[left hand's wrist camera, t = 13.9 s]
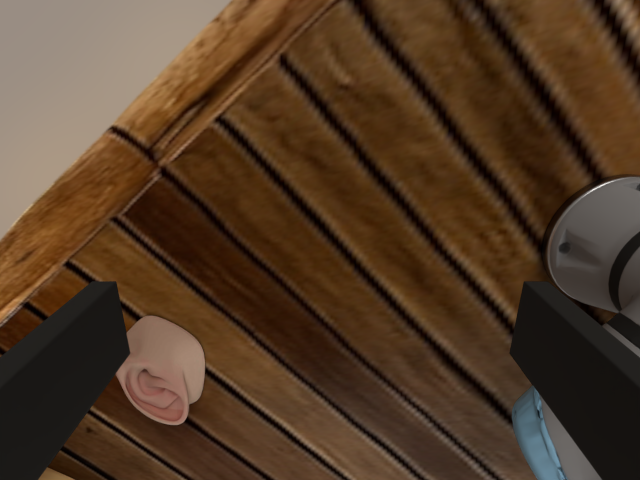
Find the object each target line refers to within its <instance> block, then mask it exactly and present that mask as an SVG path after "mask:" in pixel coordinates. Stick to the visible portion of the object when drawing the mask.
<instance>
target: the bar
mask: <svg viewBox="0 0 640 480" xmlns="http://www.w3.org/2000/svg"><path fill="white" fill-rule="evenodd" d="M38 480H75V479H73V478H70V477H68V476H66V475H64V474H61V473H59V472H57V471H55V470H52V469H50V468H48V467H47V468H46V470H45V471H44V472H43V474H42V475H41V476H40V478H39V479H38Z"/></svg>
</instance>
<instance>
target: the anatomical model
mask: <svg viewBox="0 0 640 480" xmlns="http://www.w3.org/2000/svg"><path fill="white" fill-rule="evenodd" d="M127 338H128V343H129V348H130V355H129V356H128V357H127V359H126V360H125V361H124V363H123V364H122V366H121V367H120V368H119V370H118V371H117V372H116V376H117V378H118V380H119V382H120V384H121V386H122V388H123V390H124V392H125V394H126V396H127V397H128V399H129V400H130V402H131V403H132V404H133V405H134V406H135V407H136V408H137V409H138V410H139V411H141V412H142V413H143V414H145V415H146V416H148V417H149V418H151V419H153V420H155V421H158V422H161V423H164V424H169V425H179V424H181V423H183V422H184V421H185V419H186V418H187V415H188V411H189V404H191V403H194V402H196V401H197V400H198V399H199V397H200V396H201V393H202V390H203V384H204V376H205V359H204V352H203V349H202V347H201V345H200V343H199V342H198V341H197V339H196V338H195V337H193V336H192V335H191V334H190V333H189V332H187V331H186V330H184V329H183V328H181V327H179V326H177V325H176V324H174V323H172V322H169V321H167V320H165V319H162V318H160V317H157V316H145V317H143V318H141V319H140V320H139V321H138V322H136V323H135V325H134V326H133V327H132V328H131V329H130V330H129V331H128V332H127Z"/></svg>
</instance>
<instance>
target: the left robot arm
mask: <svg viewBox="0 0 640 480" xmlns="http://www.w3.org/2000/svg"><path fill="white" fill-rule="evenodd" d="M542 256H543V263H544V267H545V270H546V272H547V274H548V276H549V277H550V279H551V280H552V281H553V283H554V284H555V285H556V286H557V287H559V288H560V289H561V290H562V291H564V292H565V293H566V294H567V295H569V296H570V297H572V298H574V299H576V300H578V301H580V302H583V303H585V304H588V305H592V306H595V307H598V308H602V309H605V310H609V311H612V312H615V313H618V314H616V315H615V316H614V317H613V318H612V319H611V320H609V321H608V322H607V323H605V324H604V325H603V326H601V325H600V324H599V323H597V322H596V321H595V320H594V319H593V318H591V317H590V316H589V315H588V314H586V313H585V312H584V311H583V310H582V309H580V308H579V307H578V306H577V305H576V304H574V303H573V302H572V301H571V300H569V299H568V298H567V297H566V296H565V295H563V294H562V293H561V292H560V291H559V290H557V289H556V288H555V287H554V286H552V285H551V284H550V283H549V282H524V284H523V289H522V294H521V299H520V304H519V309H518V314H517V319H516V323H515V328H514V333H513V338H512V343H511V348H510V355H511V356H512V357H513V359H514V360H515V361H516V363H517V364H518V366H519V367H520V368H521V370H522V371H523V372H524V374H525V375H526V377H527V378H528V379H529V381H530V382H531V383H532V386H531V387H530V388H529V389H528V390H527V391H526V392H525V393H524V394H523V395H522V396H521V397H520V398H519V399H518V400H517V401H516V402H515V404H514V406H513V410H512V421H513V429H514V433H515V436H516V439H517V441H518V444H519V446H520V448H521V451H522V453H523V455H524V457H525V459H526V461H527V463H528V464H529V466H530V468H531V470H532V471H533V473H534V475H535V476H536V478H537V480H640V176H639V175H616V176H611V177H607V178H604V179H601V180H598V181H596V182H593V183H591V184H589V185H587V186H585V187H584V188H582V189H581V190H579V191H578V192H576V193H575V194H574V195H572V196H571V197H570V198H569V199H568V200H567V201H566V202H565V203H564V204H563V205H562V206H561V207H560V209H559V210H558V211H557V212H556V214H555V215H554V217H553V218H552V220H551V222H550V224H549V226H548V228H547V231H546V233H545V237H544V241H543V248H542ZM129 355H130V348H129V343H128V338H127V333H126V328H125V323H124V319H123V314H122V309H121V304H120V299H119V294H118V289H117V284H116V282H91V283H90V284H89V285H88V286H86V287H85V288H84V289H83V290H81V291H80V292H79V293H78V294H77V295H75V296H74V297H73V298H72V299H71V300H69V301H68V302H67V303H66V304H64V305H63V306H62V307H61V308H60V309H58V310H57V311H56V312H55V313H54V314H52V315H51V316H50V317H49V318H47V319H46V320H45V321H44V322H43V323H41V324H40V325H39V326H38V327H37V328H35V329H34V330H33V331H32V332H30V333H29V334H28V335H27V336H26V337H24V338H23V339H22V340H21V341H20V342H18V343H17V344H16V345H15V346H13V347H12V348H11V349H10V350H9V351H7V352H6V353H5V354H4V355H3V356H1V357H0V480H38V479H39V478H40V476H41V475H42V474H43V472H44V471H45V470H46V468H47V467H48V465H49V464H50V463H51V461H52V460H53V459H54V457H55V456H56V454H57V453H58V452H59V450H60V449H61V448H62V446H63V445H64V444H65V442H66V441H67V439H68V438H69V437H70V435H71V434H72V433H73V431H74V430H75V429H76V427H77V426H78V424H79V423H80V422H81V420H82V419H83V418H84V416H85V415H86V413H87V412H88V411H89V409H90V408H91V407H92V405H93V404H94V403H95V401H96V400H97V398H98V397H99V396H100V394H101V393H102V392H103V390H104V389H105V387H106V386H107V385H108V383H109V382H110V381H111V379H112V378H113V377H114V375H115V374H116V372H117V371H118V370H119V368H120V367H121V366H122V364H123V363H124V361H125V360H126V359H127V357H128V356H129Z"/></svg>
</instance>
